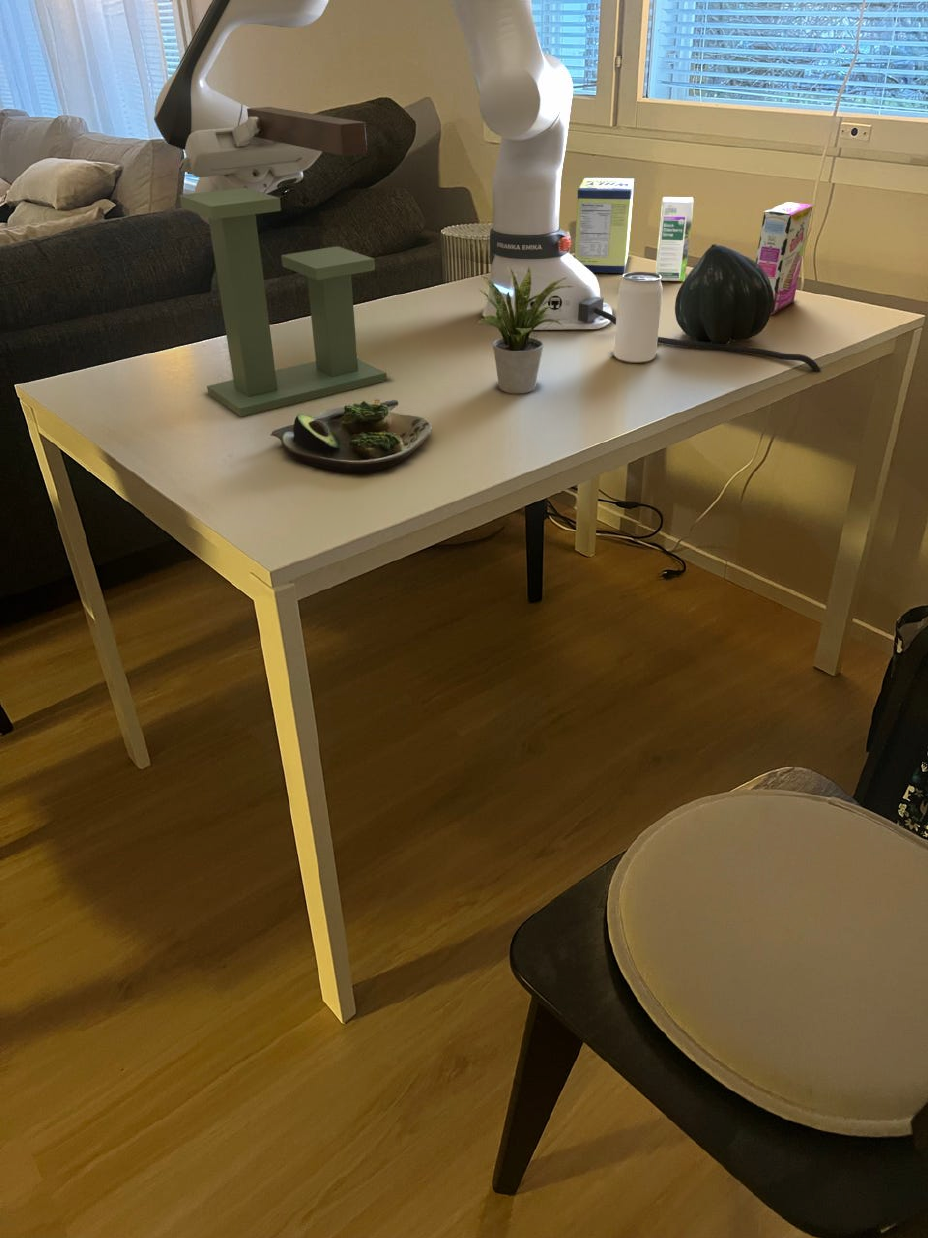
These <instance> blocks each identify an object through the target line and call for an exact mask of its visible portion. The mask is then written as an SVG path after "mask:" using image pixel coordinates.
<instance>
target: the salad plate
mask: <svg viewBox="0 0 928 1238" xmlns="http://www.w3.org/2000/svg"><path fill="white" fill-rule="evenodd" d="M399 405H400V404H399V400H396V399H392V400H386V401H382V402H380V399H375V400H374V403H373V404H371V403H368V402H367V401H366V400H362V402H361V403H353V404H352V405H350V404H348V405H344V406H342V407H341V406H340V407H334V408H330V409H327V410H325V411H322V412H321V413H318V414H317V415H315V416H314V417H313V416H310V415H308V414H304V413H300V414H297V415H296V416H295V418H294V421H293V424H290V425H287V426H283V427H281V428H277V429H273V430H272V432H271V433H270V436H273V437H275V438H277V439H278V440H280V442H281V444H282V446H283V447H284V449H285V451H287V452H288V454H289V455H290V456H291V457H292V458H293V459H294V460H295V461H297V462H299V463H300V464H304V465H308V466H311V467H314V468H318V469H321V470H325V471H330V472H335V473H342V474H373V473H377V472H381V471H384V470H387V469H389V468H391V467H393V466H395V465H396V464H399V463H400V462H402V461H404V460H405V459H407V458H408V457H409V456H410V454H411V453H413V451H415V450H416V449H418V448H419V447H421V445H422V444H423V443H424V442H425V441H426V439H427V438H428V437H429V436H430V435H431V434H433V433H432V432H433V425H432V423H430V422H429V420H428V419H426V418H424V417H421V416H418V415H409V414H403V413H396V412H392V411H393V410H394V409H395V408H397V407H398V406H399Z"/></svg>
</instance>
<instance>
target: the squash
mask: <svg viewBox="0 0 928 1238" xmlns="http://www.w3.org/2000/svg"><path fill="white" fill-rule="evenodd" d="M773 302H774V294H773V290H772V286H771V284H770V280H769V278H768V276H767V274H766V273H765V271H764V270H763V269H762V268H761V267H760V266H759V265H758V264H757V263H756V260H753V259H752V258H750V257H748V256H746V255H744V254H743V253H741V252H738V251H737V250H735V249H732V248H730V247H728V246H725V245H718V244H716V243H713V244H711V245H710V247H709V248H707V250H706V251H705V252H704V254H702V256H701V257H700V259H699V260H698V262H697V263H696V264H695V266H694V267H693V268H692V269H691V271H690V272H689V273H688V275H687V276H686V277H685V281H682V284H681V285H680V287H679V288H678V290H677V293H676V296H675V304H674V314H675V321H676V323H677V325H678V326H679V328H680V329H681V330H682V332H683V333H684V334H686V335H687V336H689V337H691V338H692V339H693V341H700V342H713V343H723V344H730V341H731V340H732V341H733V342H741V341H744V340H749V339H751V338H754V337H755V336H757V335H759V334H760V333H761V332H762V331H764V329H765V328H766V327H767V324H768V323H769V321H770V319H771V316H772V315H771V312H772V308H773Z"/></svg>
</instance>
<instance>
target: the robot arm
mask: <svg viewBox="0 0 928 1238" xmlns="http://www.w3.org/2000/svg"><path fill="white" fill-rule="evenodd" d="M329 1H330V0H212V1H211V3H210V4H209V6H208V8H207V10H206V11H205V13H204V15H203V17H202V18H201V21H200V23H199V24H198V27H197V29H196V31H195V32H194V34H193V36H192V38H191V40H190V42H189V44H188V46H187V48H186V49H185V52H184V54H183V56H182V58H181V60H180V61H179V63H178V64H177V67H176V69H175V71H174V72H173V74H172V75H171V76H170V77H169V78H168V80H167V81H166V83H165V84H164V85H163V87H162V88H161V90H160V91H159V94H158V96H157V99H156V102H155V106H154V116H153V120H154V123H155V126H156V128H157V130H158V131H159V133H160V135H161V137H162V138H163V140H165V143H167V145H170V146H172V147H175V148H178V149H181V150H183V151H184V152H185V153H184V154H185V157H184V158H183V159H182V160H181V162H180V163H179V170H180V172H181V173H187V174H188V175H193V176H194V177H196V178H198V179H197V182H196V185H195V187H194V188H195V189H194V193H203V192H211V191H220V190H228V189H236V188H248V189H251V190H255V191H258V192H261V193H265V194H268V195H269V194H270V193H271V192H274V191H276V190H277V189H279V188H283V187H287V186H290V185H293V184H296V183H299V182H301V181H302V180H303V178H304V171H306V170H308V169H309V168H310V167H312V166H313V165H314V163H315V162H316V161H317V160H318V158H319V157H320V156H321V154H323V152H322V151H317V150H313V149H308V148H303V147H299V146H294V145H290V144H285V143H280V142H276V141H271V140H266V139H262V138H257V137H253V136H254V135H258V134H260V133H261V131H262V130H263V124H262V122H261V118H260V116H253V117H249V118H248V113H247V109H248V108H250V107H249V106H247V105H245V104H243V103H240V102H239V101H237V100H234V99H232V98H230V97H229V96H226V95H225V94H222V93H221V92H219V91H217V90H215V89H213V88H212V87H210V85H209V84H208V83H207V81H206V78H207V76H208V74H209V72H210V70H211V68H212V67H213V65H214V63H215V61H216V59H217V58H218V56H219V54H220V52H221V51H222V48H223V46H224V45H225V43H226V40H228V39H227V38H229V35H230V34H231V33H232V32H233V31H234V30H235V29H236V28H239V27H241V26H246V25H260V26H261V25H262V26H268V27H269V26H270V27H276V28H287V29H292V28H293V29H294V28H302V27H305V26H309V25H310V24H313V23H315V22H316V21H317V20H318V19H319V18H321V16H322V15H323V13H324V11H325V9H326V7H327V5H328V4H329ZM449 1H450V4H451V6H452V10H453V11H454V14H455V17H456V19H457V22H458V25H459V27H460V30H461V32H462V34H463V37H464V41H465V45H466V47H467V53H468V55H469V60H470V65H471V69H472V72H473V77H474V81H475V84H476V86H477V87H476V88H477V91H478V100H479V101H478V106H479V112H480V115H481V117H482V120H483V121H484V124H485V125H486V127H487V128H488V129H489V130H490V131H491V132H492V133H494V134H495V135H497V136H499V137H500V141H499V148H498V153H497V160H496V164H495V168H494V172H493V177H492V228H491V229H490V230H489V237H488V259H489V263H490V275H489V280H490V281H491V282H492V283H493V284H494V285H495V286H496V287H497V288H498V289H499V291H500V293H501V294H502V297H503V299H504V301H505V303H506V305H507V301H506V295H507V293H508V292H509V293H510V297H511V304H512V308H513V312H514V318H515V291H514V283H513V278H512V273H511V270H512V271H513V272H514V275H515V278H516V281H517V283H518V286H519V288H520V286H521V283H522V281H523V278H524V277H525V276H526V275H527V271H528V268H529V269H530V272H531V290H530V295H529V299H530V298H532V297H534V296H536V295H538V294H541V293H542V291H543V290H544V289H545V288H547V287H548V286H549V285H550V284H552V283H553V282H555V281H557V280H559V279H563V278H566V277H567V278H566V279H564V280H562V281H560V282H559V283H557V284H556V285H555V286H554V287H557V286H560V287H561V286H571V287H569V288H560V289H557V290H555V291H553V292H551V293H550V294H549V295H548V296H547V297H546V299H545V300H544V301H543V303H542V305H543V304H544V303H545V302H546V301H548V300H550V299H559V300H551V301H549V302H547V303H545V304H544V305H543V306H542V305H541V306H542V307H541V306H540V308H539V309H540V311H541V310H542V309H543V308H545V307H547V306H551V305H554V306H552V307H549V308H548V309H547V310H546V311H545V312H544V314H547V315H548V316H546V317H545V318H543V319H542V320H545V319H554V320H557V319H566V320H557V321H558V322H560V323H561V324H562V325H560V324H559V323H556V322H552V323H551V322H544V323H541V324H539V325H538V326H537V327H535V328H534V329H533V330H532V331H538V330H539V331H544V330H545V331H547V330H551V331H552V330H553V331H554V330H598V329H601V328H605V327H606V326H608V325H609V324H610V322H611V323H613V325H615V326H616V316H614V315H613V308H612V307H611V306H610V304H608V303H606V302H605V301H604V299H605V298H604V297H601V289H600V285H599V281H598V278H597V276H596V275H595V273H594V272H591V271H589V270H588V269H587V268H586V267H585V266H584V265H582V264H581V263H580V262H579V261H578V260H577V259H576V258H575V256H573V255H572V254H571V253H570V250H571V246H572V240H571V234H570V232H569V231H567V232H566V231H565V230H563V229H562V228H560V227H559V225H560V209H561V208H560V205H561V186H562V185H561V183H562V173H563V165H564V159H565V154H566V147H567V141H568V135H569V134H568V133H569V126H570V124H569V123H570V118H571V117H570V116H571V109H572V101H573V97H574V82H573V78H572V76H571V74H570V71H569V70H568V68H567V67H566V66H565V64H564V63H563V61H561V60H560V59H558V58H557V57H556V56H554V55H552V54H550V53H546V52H543V50H542V47H541V43H540V40H539V35H538V32H537V26H536V23H535V18H534V13H533V8H532V7H533V6H532V0H449ZM194 193H193V194H194ZM197 215H198V217H199V218H200V219H201V220H202V221H203V222H204V223H206V224H207V225H209V220H208V218H207V217H205V216H202V215H199V214H197ZM510 268H511V270H510ZM486 294H487V295H488V296H489V297H490V298H491V299H492V300H493V301H494V302H495V303H496V300H495V298H494V295H493V293H492V291H491V289H490V287H489V286H488V289H487V293H486ZM536 299H537V298H535V299H534V300H532V301H530V302H529V303H528V306H527V310H528V309H531V307H532V305H533V304H534V302H535V300H536ZM496 304H497V303H496ZM507 309H508V305H507ZM496 311H497V309H496V308H495V306H494V305H493V304H492V303H491V302H490V301H489V299H488V298H487V297H486V299H485V304H484V308H483V311H482V316H483V318H486V316H495V317H497V316H496ZM508 312H509V309H508ZM537 313H538V312H537ZM509 315H510V314H509ZM549 315H550V316H549ZM531 317H532V316H531ZM530 319H531V318H530ZM542 320H540V321H542ZM502 321H503V320H502ZM529 321H530V320H529ZM503 323H504V322H503ZM528 323H529V322H528ZM550 323H551V324H550ZM504 325H505V323H504ZM527 325H528V324H527ZM546 326H547V327H546ZM545 327H546V328H545ZM544 328H545V329H544ZM657 344H663V345H668V346H675V347H676V346H677V347H683V348H694V349H695V348H698V349H710V350H711V349H712V350H721V351H727V352H736V353H742V354H750V355H756V356H761V357H767V358H772V359H776V360H782V361H798V362H803V363H804V364H806V365H808V366H809V367H810V368H811V370H812V372H814V373H815V372H816V373H822V370H821V367H819V365H818V364H817V363H816V361H815V360H814V359H812V358H811V357H810V356H808V355H805V354H802V353H788V352H787V353H786V352H785V353H784V352H779V351H774V350H769V349H763V348H758V347H751V346H744V345H737V344H731V343H727V344H723V343H713V342H700V341H695V340H685V339H676V338H670V337H663V336H658V341H657Z"/></svg>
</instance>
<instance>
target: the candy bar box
mask: <svg viewBox="0 0 928 1238" xmlns="http://www.w3.org/2000/svg"><path fill="white" fill-rule="evenodd" d="M813 207H814V205H813V204H808V203H807V204H806V203H799V202H788V201H787V202H784V203H782V204H779V205H777V206H775V207H771V208H770V209H767V210H764V211H763V215H762V216H763V217H762V223H761V229H760V234H759V239H758V246H757V251H756V257H755V262H756V263H757V264H758V265H759V266H760V267H761V268H762V269H763V270H764V271H765V273H766V274H767V276H768V278H769V280H770V284H771V286H772V290H773V294H774V302H773V308H772V312H771V316H772V315H774V314H775V313H777V312H778V311H781V309H783V308H785V307H786V306H788V305H790V304H791V303H792V302H794V301H795V296H796V292H797V287H798V283H799V276H800V271H801V266H802V261H803V256H804V251H805V248H806V247H805V246H806V241H807V237H808V233H809V228H810V222H811V217H812V213H813V212H812V211H813Z"/></svg>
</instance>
